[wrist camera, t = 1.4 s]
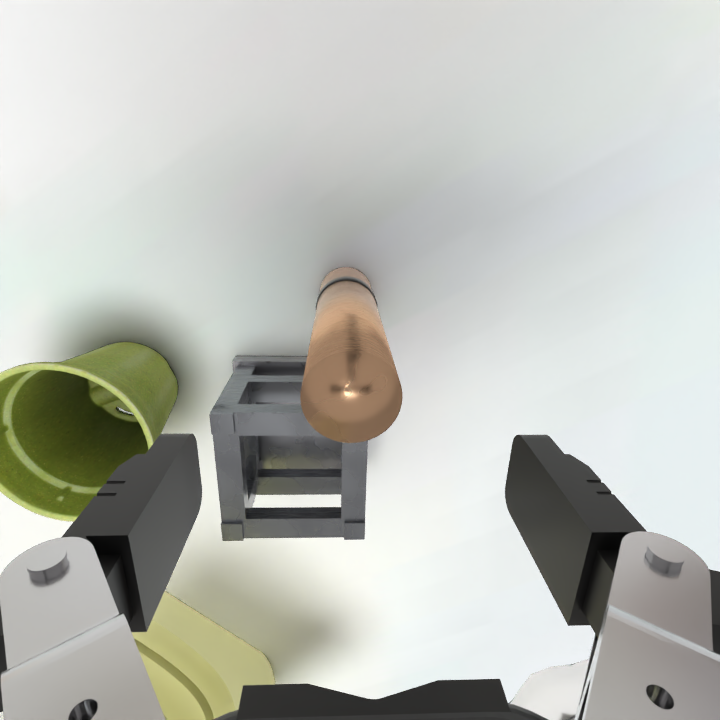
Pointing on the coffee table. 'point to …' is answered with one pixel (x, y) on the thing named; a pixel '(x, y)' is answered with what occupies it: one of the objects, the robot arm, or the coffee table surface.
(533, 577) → the coffee table surface
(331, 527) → the metal frame cube
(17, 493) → the plant pot
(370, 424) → the tube
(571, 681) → the figurine
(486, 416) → the coffee table surface
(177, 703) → the slatted curved stool
